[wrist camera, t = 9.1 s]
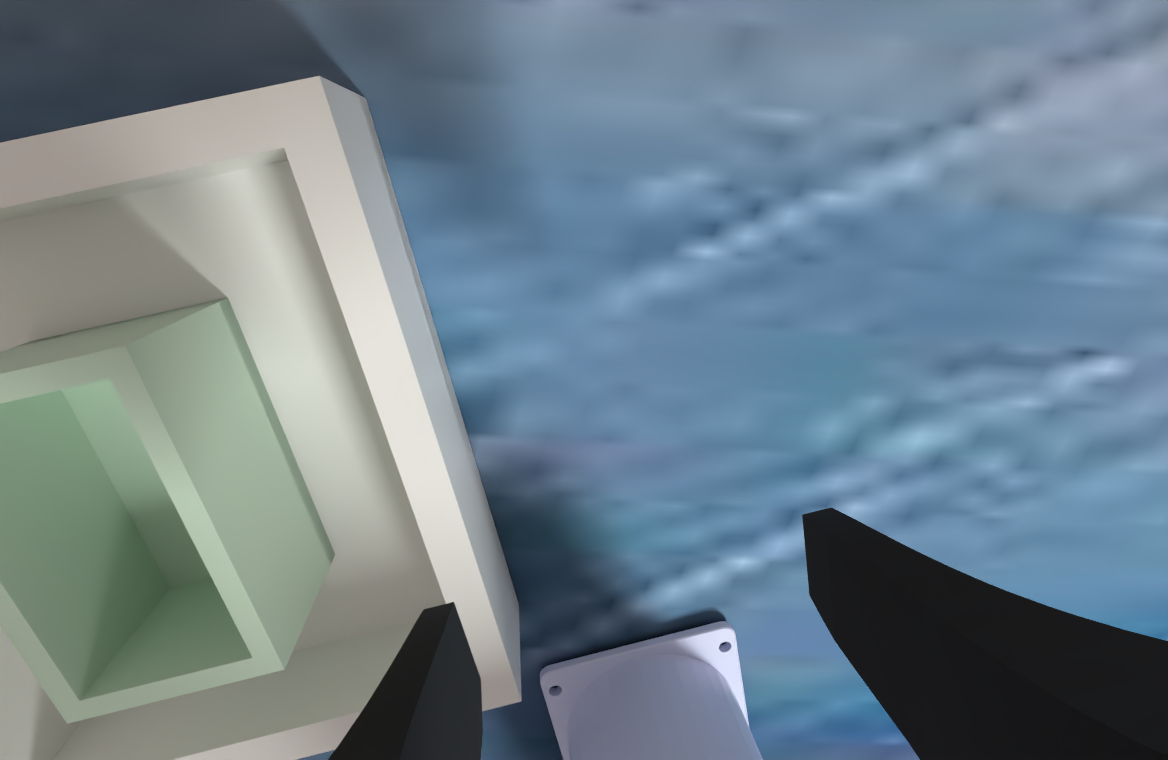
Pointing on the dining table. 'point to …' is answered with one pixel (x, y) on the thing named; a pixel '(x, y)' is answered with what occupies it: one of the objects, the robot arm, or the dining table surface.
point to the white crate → (269, 391)
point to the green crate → (150, 513)
